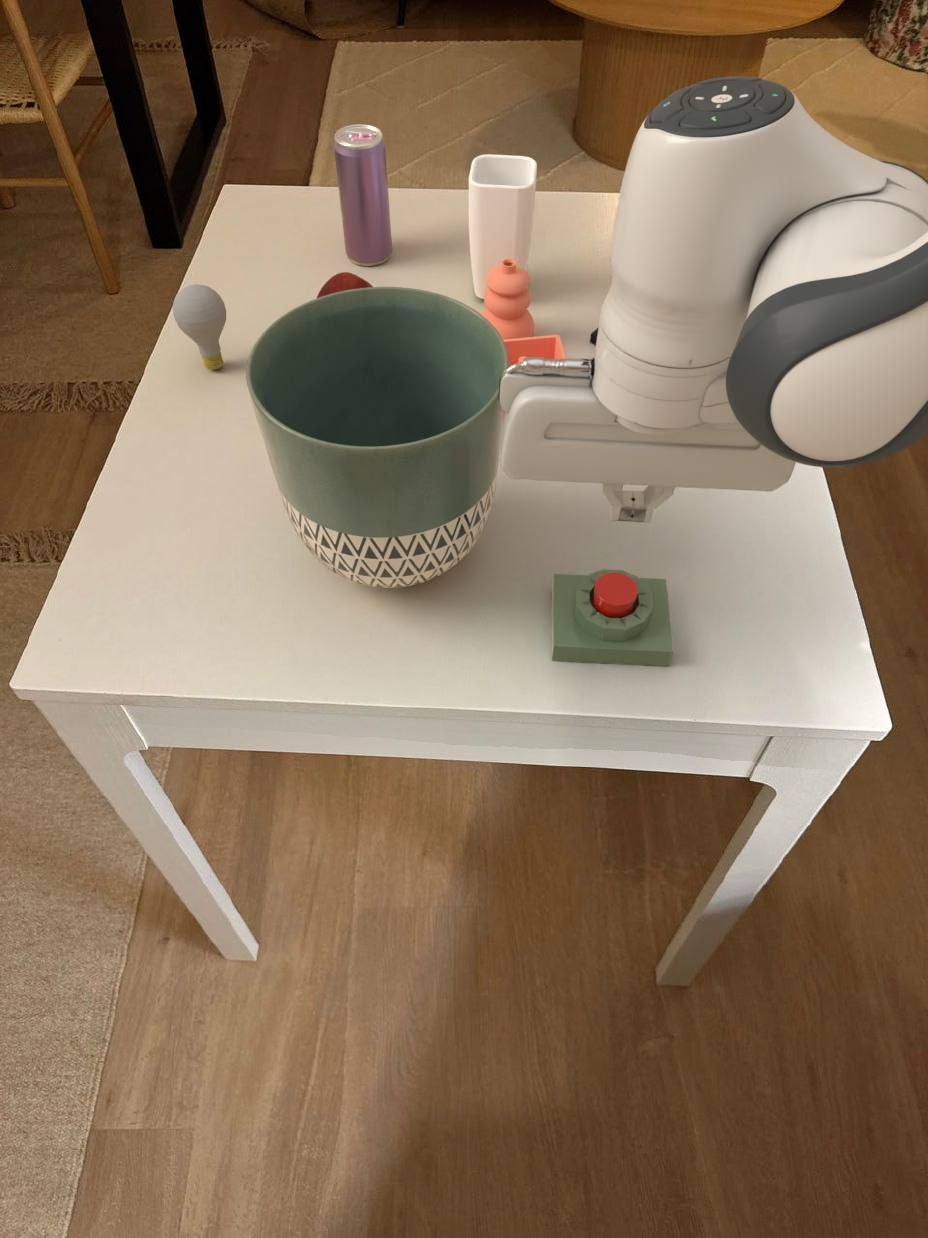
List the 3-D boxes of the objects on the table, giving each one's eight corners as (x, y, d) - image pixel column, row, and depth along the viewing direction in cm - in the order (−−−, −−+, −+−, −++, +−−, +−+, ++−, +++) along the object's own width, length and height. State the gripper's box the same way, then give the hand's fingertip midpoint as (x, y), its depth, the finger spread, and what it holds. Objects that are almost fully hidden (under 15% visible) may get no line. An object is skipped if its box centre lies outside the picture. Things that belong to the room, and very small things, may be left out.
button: (633, 586, 77) (636, 572, 76) (635, 618, 75) (639, 606, 74) (591, 583, 78) (594, 570, 76) (592, 616, 75) (595, 603, 74)
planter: (279, 635, 79) (228, 451, 62) (300, 478, 91) (262, 287, 74) (505, 631, 79) (516, 446, 62) (495, 475, 91) (502, 284, 74)
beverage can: (390, 268, 114) (382, 147, 102) (344, 267, 114) (330, 146, 102) (394, 243, 117) (386, 123, 106) (348, 242, 118) (335, 122, 106)
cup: (530, 276, 113) (537, 155, 101) (526, 309, 108) (534, 188, 97) (472, 272, 113) (473, 152, 101) (466, 306, 109) (467, 184, 97)
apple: (394, 347, 104) (389, 285, 97) (331, 365, 102) (322, 303, 95) (370, 313, 108) (364, 251, 102) (309, 330, 106) (299, 268, 100)
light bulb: (186, 359, 102) (163, 279, 95) (233, 348, 104) (214, 269, 96) (195, 387, 99) (171, 308, 91) (243, 376, 101) (224, 297, 93)
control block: (661, 594, 81) (669, 565, 78) (668, 666, 77) (677, 639, 73) (551, 589, 82) (555, 560, 79) (551, 661, 77) (555, 633, 74)
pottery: (573, 418, 96) (582, 339, 88) (486, 426, 95) (488, 348, 88) (540, 320, 107) (546, 242, 99) (462, 327, 106) (461, 249, 98)
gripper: (498, 388, 55) (491, 539, 66) (832, 402, 55) (769, 553, 66) (501, 327, 59) (494, 480, 70) (813, 340, 59) (757, 493, 70)
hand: (629, 516), depth 68 cm, fingers closed
